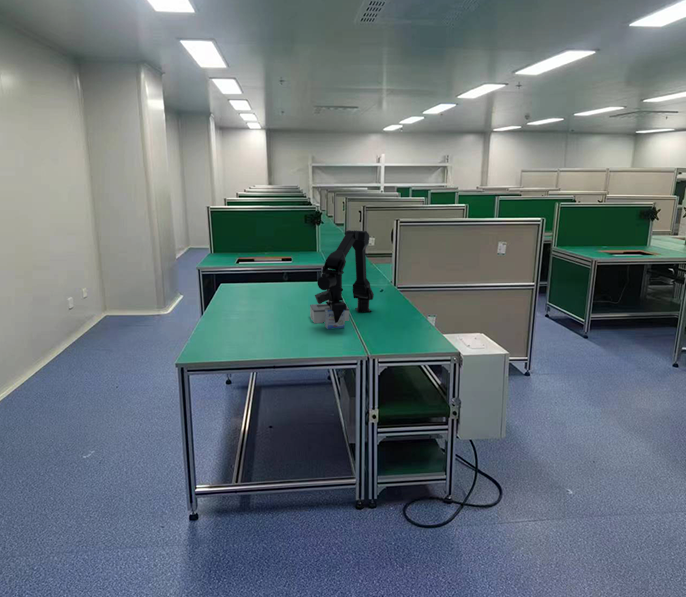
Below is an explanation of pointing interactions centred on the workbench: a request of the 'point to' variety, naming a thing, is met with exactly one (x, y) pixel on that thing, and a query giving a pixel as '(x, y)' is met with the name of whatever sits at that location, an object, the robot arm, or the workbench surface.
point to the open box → (322, 313)
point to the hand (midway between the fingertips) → (334, 320)
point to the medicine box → (330, 319)
